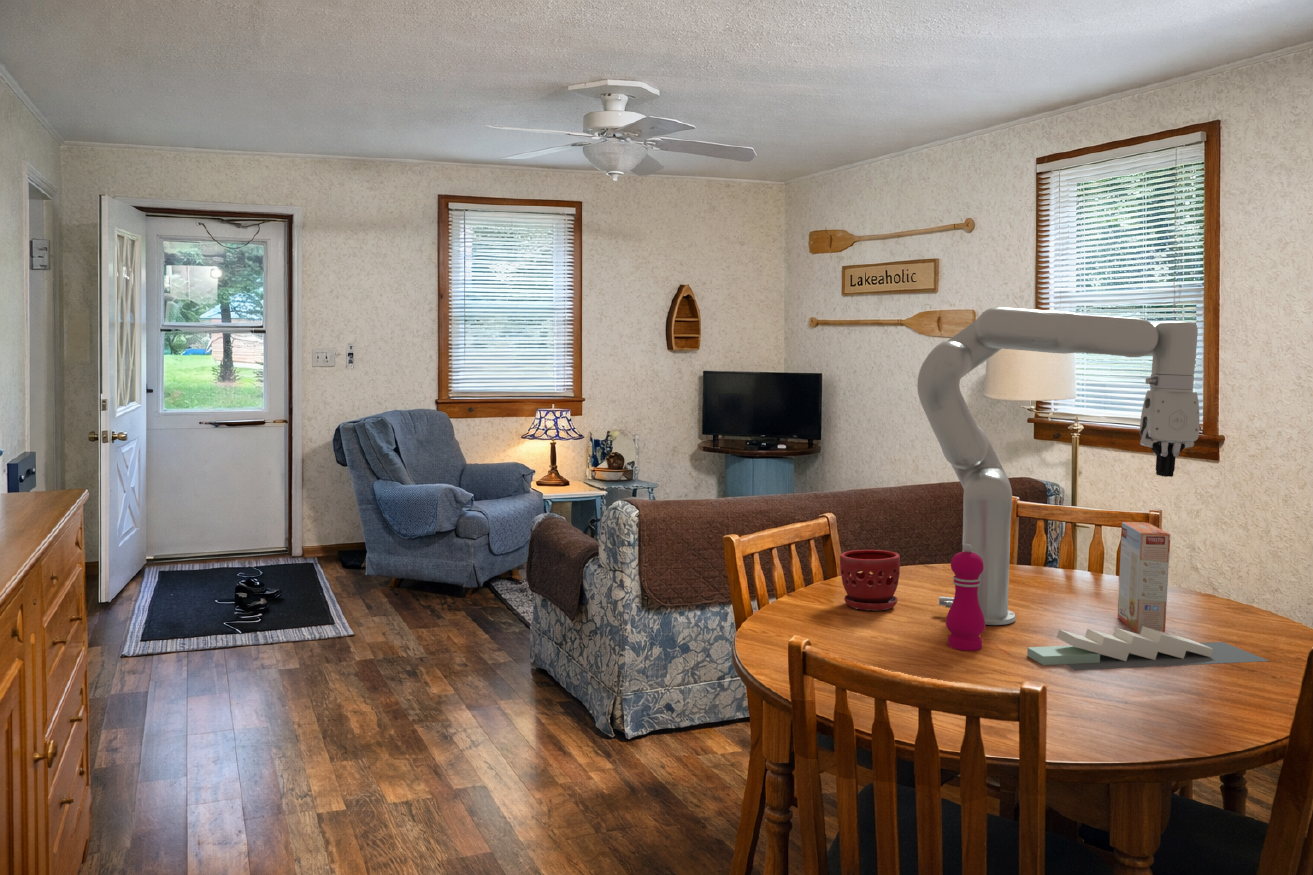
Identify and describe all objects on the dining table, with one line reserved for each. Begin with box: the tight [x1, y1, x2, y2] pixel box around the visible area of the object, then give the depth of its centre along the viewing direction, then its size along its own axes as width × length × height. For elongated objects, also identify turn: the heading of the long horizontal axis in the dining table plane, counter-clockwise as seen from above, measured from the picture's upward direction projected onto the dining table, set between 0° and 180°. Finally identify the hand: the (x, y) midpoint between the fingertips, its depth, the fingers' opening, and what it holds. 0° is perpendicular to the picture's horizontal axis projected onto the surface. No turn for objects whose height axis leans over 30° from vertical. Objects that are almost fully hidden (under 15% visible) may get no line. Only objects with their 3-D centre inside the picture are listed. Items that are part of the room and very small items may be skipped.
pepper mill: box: [945, 544, 986, 652], centre depth 188 cm, size 7×7×20 cm
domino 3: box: [1112, 627, 1186, 659], centre depth 181 cm, size 2×6×11 cm
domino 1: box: [1056, 629, 1129, 661], centre depth 179 cm, size 2×6×11 cm
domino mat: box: [1064, 641, 1270, 671], centre depth 181 cm, size 38×12×1 cm, turn 98°
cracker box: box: [1117, 521, 1171, 634], centre depth 201 cm, size 14×6×21 cm, turn 168°
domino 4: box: [1139, 626, 1213, 657], centre depth 182 cm, size 2×6×11 cm
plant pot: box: [839, 549, 901, 612], centre depth 218 cm, size 13×13×12 cm
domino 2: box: [1084, 628, 1158, 660], centre depth 180 cm, size 2×6×11 cm
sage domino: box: [1026, 645, 1100, 666], centre depth 179 cm, size 2×6×11 cm
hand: (1164, 475), depth 195 cm, fingers closed
